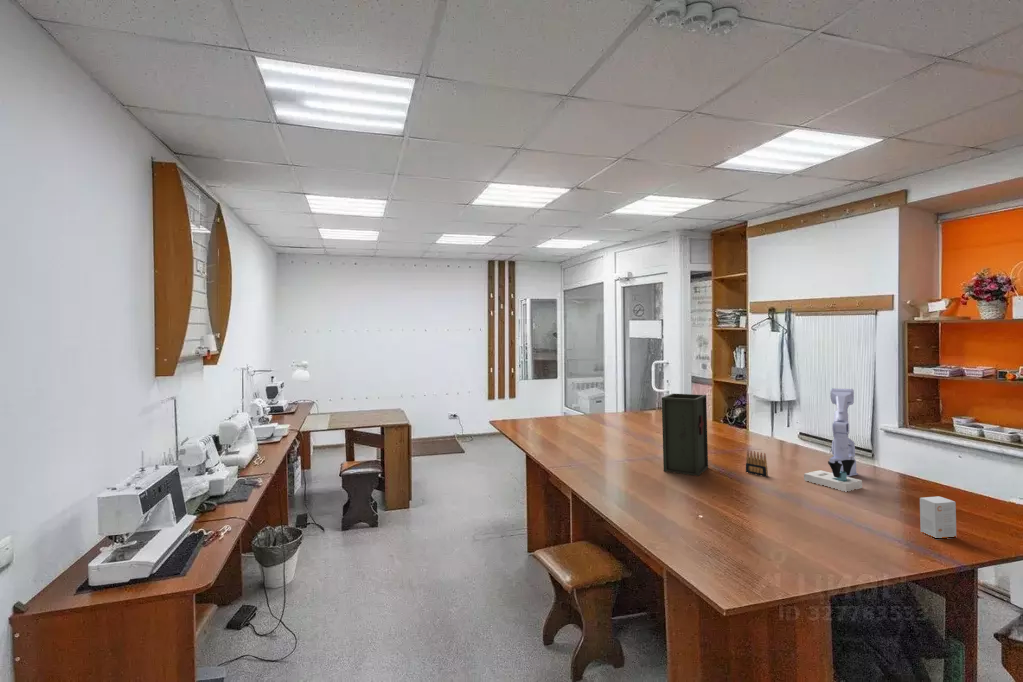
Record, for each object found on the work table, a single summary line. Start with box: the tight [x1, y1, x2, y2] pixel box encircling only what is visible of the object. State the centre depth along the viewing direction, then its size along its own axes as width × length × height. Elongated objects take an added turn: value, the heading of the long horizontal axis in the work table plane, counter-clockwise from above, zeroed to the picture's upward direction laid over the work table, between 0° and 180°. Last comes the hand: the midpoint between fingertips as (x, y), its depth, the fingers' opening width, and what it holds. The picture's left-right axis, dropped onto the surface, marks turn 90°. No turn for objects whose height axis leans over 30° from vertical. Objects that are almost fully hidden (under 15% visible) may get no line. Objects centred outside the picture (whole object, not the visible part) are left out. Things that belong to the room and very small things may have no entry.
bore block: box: [803, 469, 863, 493], centre depth 238 cm, size 12×20×4 cm, turn 24°
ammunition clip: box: [745, 449, 769, 477], centre depth 258 cm, size 11×2×12 cm, turn 37°
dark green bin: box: [661, 393, 709, 477], centre depth 270 cm, size 18×18×40 cm
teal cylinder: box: [836, 471, 847, 482], centre depth 234 cm, size 4×4×7 cm
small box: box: [919, 495, 957, 538], centre depth 178 cm, size 8×6×13 cm
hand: (841, 475), depth 234 cm, fingers open, 7 cm apart
